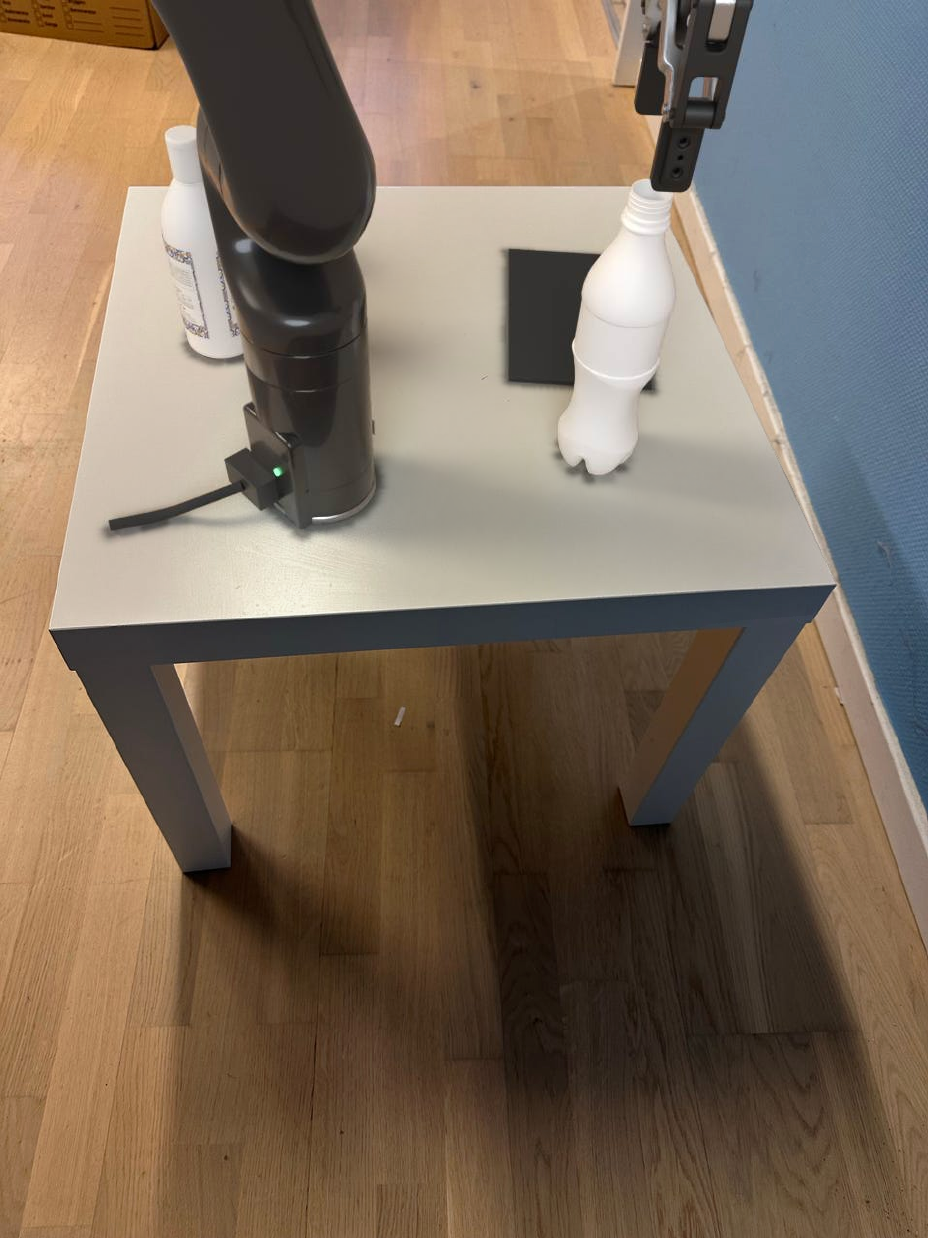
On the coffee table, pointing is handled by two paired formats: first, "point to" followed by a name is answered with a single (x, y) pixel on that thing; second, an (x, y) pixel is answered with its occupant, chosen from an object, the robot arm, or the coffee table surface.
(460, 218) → the coffee table surface
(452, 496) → the coffee table surface
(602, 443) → the water bottle
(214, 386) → the coffee table surface
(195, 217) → the bath foam
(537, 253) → the mat
